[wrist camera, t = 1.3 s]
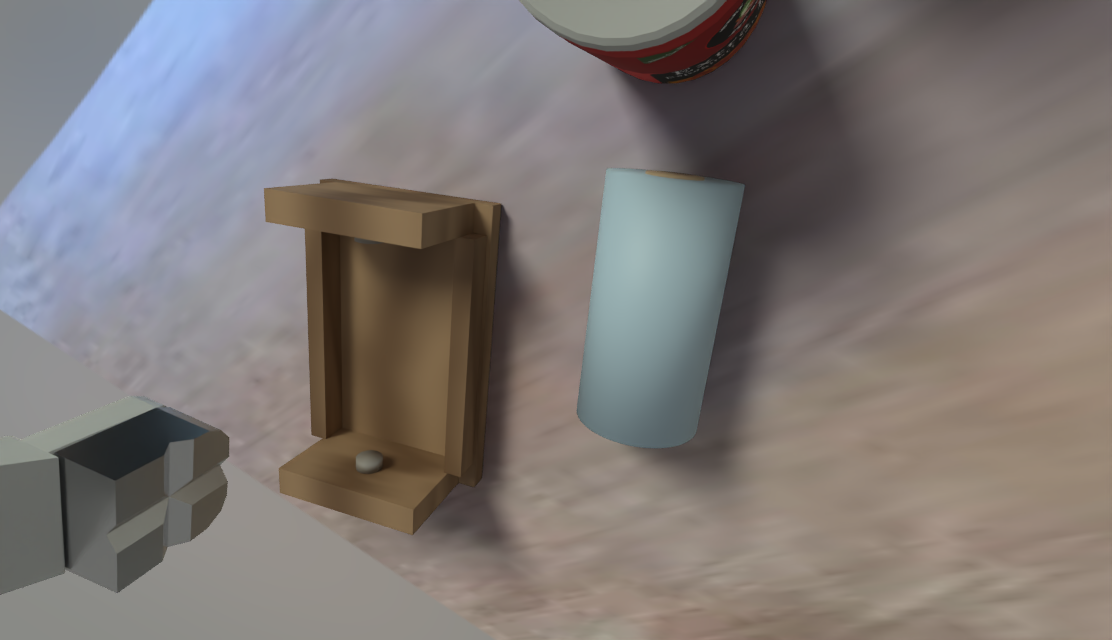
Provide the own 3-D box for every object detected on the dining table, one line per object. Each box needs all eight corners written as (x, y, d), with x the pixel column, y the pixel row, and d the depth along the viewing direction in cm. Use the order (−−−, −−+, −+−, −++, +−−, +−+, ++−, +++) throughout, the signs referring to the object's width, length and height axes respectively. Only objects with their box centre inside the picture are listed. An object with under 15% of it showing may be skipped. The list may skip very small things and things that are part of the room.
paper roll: (755, 180, 26) (731, 186, 21) (707, 413, 29) (679, 464, 24) (632, 164, 28) (585, 166, 23) (602, 382, 31) (556, 424, 26)
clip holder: (501, 203, 30) (443, 216, 24) (481, 478, 35) (430, 540, 29) (332, 178, 32) (245, 185, 27) (336, 437, 37) (264, 487, 32)
